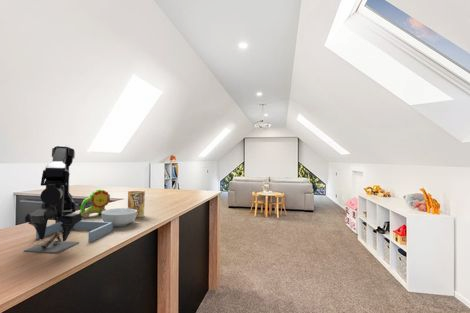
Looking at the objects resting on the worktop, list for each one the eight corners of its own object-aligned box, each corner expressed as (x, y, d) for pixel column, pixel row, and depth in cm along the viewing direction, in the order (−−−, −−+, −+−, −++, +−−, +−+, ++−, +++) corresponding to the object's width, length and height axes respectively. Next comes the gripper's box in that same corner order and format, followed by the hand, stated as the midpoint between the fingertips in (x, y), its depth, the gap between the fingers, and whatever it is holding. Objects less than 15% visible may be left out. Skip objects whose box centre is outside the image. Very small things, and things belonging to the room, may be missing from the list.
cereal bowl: (122, 230, 117) (123, 215, 117) (93, 227, 121) (93, 213, 121) (142, 221, 134) (143, 209, 134) (116, 219, 137) (116, 206, 137)
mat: (23, 251, 88) (23, 250, 88) (48, 241, 99) (48, 240, 99) (57, 253, 87) (57, 252, 87) (79, 243, 98) (79, 242, 98)
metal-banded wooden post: (64, 239, 98) (61, 230, 96) (48, 254, 91) (45, 245, 89) (60, 239, 98) (56, 230, 96) (44, 254, 91) (40, 245, 89)
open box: (35, 238, 102) (36, 229, 102) (65, 228, 118) (65, 219, 118) (90, 241, 100) (91, 232, 100) (112, 230, 116) (113, 222, 116)
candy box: (144, 215, 148) (145, 190, 148) (143, 217, 144) (144, 191, 144) (128, 215, 146) (129, 190, 147) (127, 217, 142) (128, 191, 142)
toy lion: (82, 218, 137) (83, 191, 137) (78, 217, 140) (79, 190, 140) (110, 214, 150) (111, 189, 150) (106, 212, 153) (107, 188, 153)
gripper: (11, 201, 86) (9, 246, 86) (61, 204, 85) (59, 249, 85) (39, 197, 97) (37, 236, 97) (83, 199, 96) (81, 238, 96)
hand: (53, 240), depth 93 cm, fingers open, 9 cm apart
